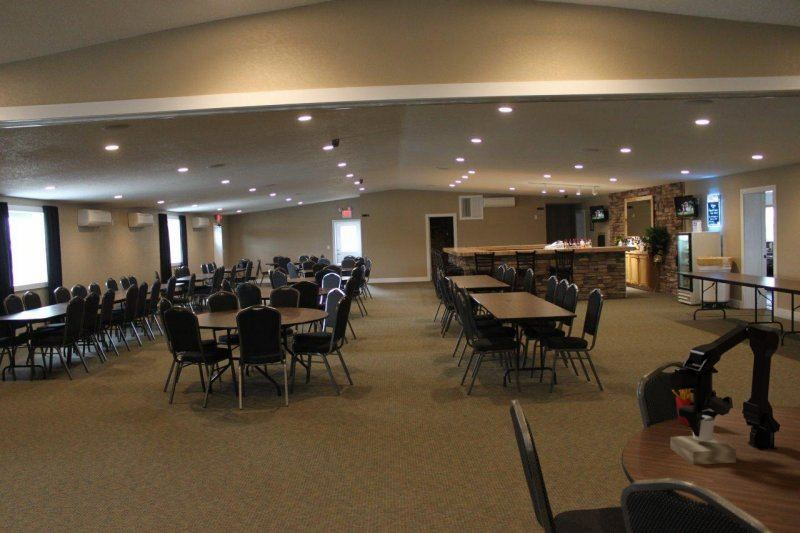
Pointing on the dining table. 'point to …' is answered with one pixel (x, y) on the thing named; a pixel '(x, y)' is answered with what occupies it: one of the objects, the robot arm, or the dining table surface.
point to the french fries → (683, 403)
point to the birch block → (703, 450)
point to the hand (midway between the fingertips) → (702, 434)
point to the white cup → (706, 429)
